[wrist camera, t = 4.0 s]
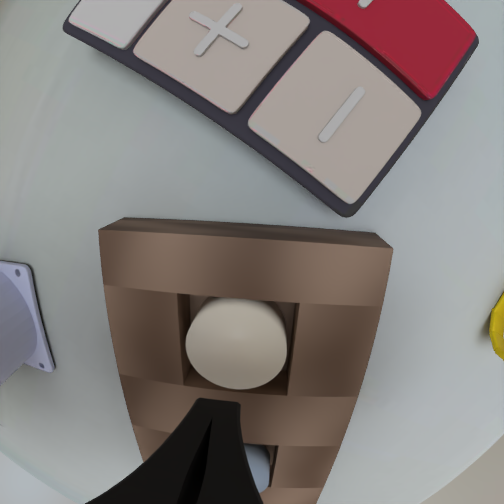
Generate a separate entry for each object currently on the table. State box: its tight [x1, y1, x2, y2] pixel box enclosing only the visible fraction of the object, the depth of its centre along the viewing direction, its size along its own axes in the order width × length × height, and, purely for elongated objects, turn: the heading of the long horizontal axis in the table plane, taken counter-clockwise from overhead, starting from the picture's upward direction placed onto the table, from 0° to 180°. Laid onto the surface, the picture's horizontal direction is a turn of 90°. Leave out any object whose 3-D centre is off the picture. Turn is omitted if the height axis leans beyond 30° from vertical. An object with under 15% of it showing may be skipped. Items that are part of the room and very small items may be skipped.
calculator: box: [63, 0, 479, 217], centre depth 10 cm, size 11×4×15 cm
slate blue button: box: [244, 443, 270, 493], centre depth 16 cm, size 4×4×2 cm
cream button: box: [186, 296, 287, 389], centre depth 14 cm, size 4×4×2 cm
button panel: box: [98, 218, 393, 504], centre depth 17 cm, size 12×28×3 cm, turn 177°
